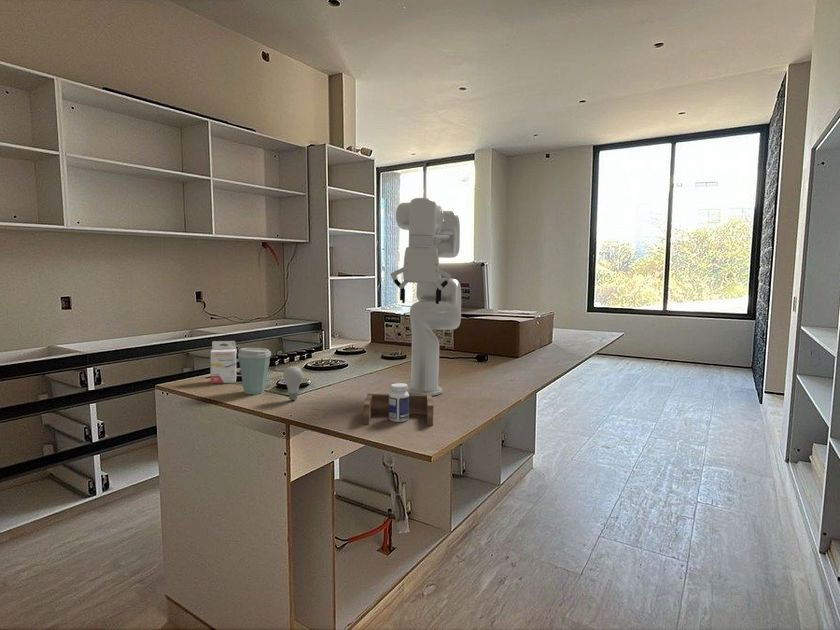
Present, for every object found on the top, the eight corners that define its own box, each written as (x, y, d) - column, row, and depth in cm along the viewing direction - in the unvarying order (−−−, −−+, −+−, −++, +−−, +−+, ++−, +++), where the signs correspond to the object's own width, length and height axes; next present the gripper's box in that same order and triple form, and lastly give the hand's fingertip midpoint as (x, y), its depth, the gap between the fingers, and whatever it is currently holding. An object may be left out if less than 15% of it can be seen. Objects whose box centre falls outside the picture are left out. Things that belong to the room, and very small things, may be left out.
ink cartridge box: (210, 384, 170) (209, 343, 169) (211, 380, 175) (210, 341, 173) (236, 382, 173) (235, 342, 171) (236, 379, 177) (236, 340, 176)
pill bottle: (408, 416, 138) (409, 382, 137) (408, 422, 132) (409, 387, 131) (388, 416, 138) (389, 382, 137) (388, 422, 132) (388, 387, 131)
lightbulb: (295, 404, 147) (295, 369, 146) (279, 401, 150) (279, 367, 148) (307, 399, 153) (307, 365, 152) (290, 397, 155) (290, 363, 154)
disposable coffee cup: (256, 386, 167) (256, 344, 166) (278, 391, 162) (278, 347, 161) (231, 393, 158) (230, 348, 157) (253, 398, 153) (253, 352, 151)
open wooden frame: (367, 411, 141) (367, 393, 141) (431, 412, 142) (431, 394, 141) (363, 424, 130) (363, 404, 129) (432, 425, 130) (433, 405, 130)
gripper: (450, 245, 139) (449, 303, 140) (391, 243, 138) (390, 302, 139) (453, 242, 132) (451, 304, 133) (391, 240, 131) (389, 303, 132)
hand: (420, 303), depth 136 cm, fingers open, 9 cm apart
